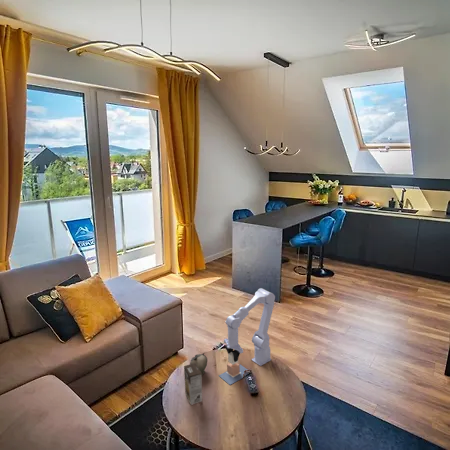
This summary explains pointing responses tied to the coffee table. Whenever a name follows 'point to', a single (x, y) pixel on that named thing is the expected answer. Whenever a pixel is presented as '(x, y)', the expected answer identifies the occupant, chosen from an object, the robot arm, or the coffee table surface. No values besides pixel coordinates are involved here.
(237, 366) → the terracotta block
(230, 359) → the cream block
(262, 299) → the robot arm
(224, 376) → the blueprint board
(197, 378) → the coffee box
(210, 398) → the coffee table surface
